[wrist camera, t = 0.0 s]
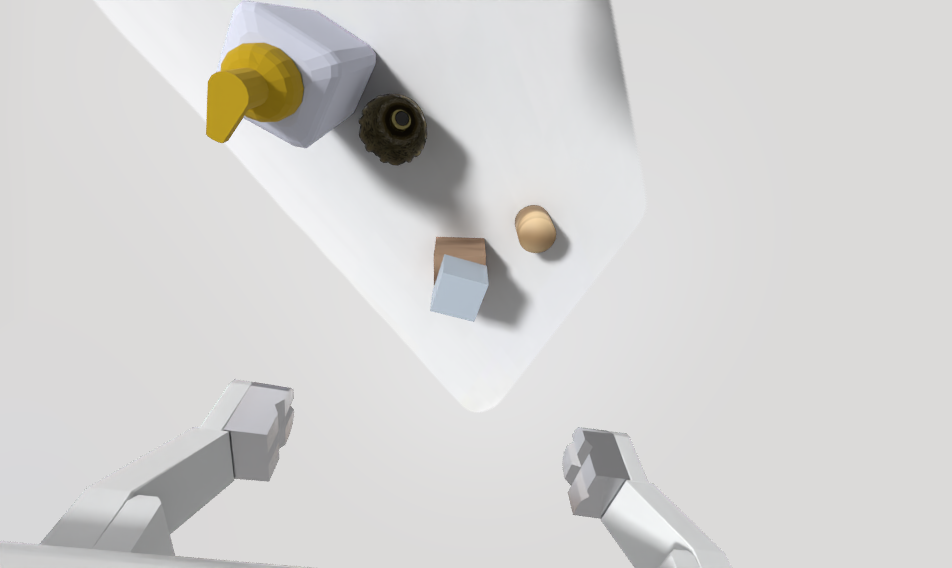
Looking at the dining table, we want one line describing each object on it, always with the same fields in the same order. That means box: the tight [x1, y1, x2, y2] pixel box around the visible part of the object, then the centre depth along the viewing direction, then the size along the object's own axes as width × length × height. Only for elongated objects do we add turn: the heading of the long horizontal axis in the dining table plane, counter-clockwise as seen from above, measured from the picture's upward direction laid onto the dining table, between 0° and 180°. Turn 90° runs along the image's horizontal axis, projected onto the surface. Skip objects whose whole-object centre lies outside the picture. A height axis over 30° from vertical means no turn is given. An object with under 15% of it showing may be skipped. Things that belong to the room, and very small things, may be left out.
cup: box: [359, 94, 427, 165], centre depth 50 cm, size 8×7×8 cm
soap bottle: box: [206, 0, 376, 148], centre depth 39 cm, size 9×9×25 cm
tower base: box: [434, 237, 486, 285], centre depth 61 cm, size 7×7×6 cm
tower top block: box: [430, 254, 489, 322], centre depth 56 cm, size 6×6×5 cm
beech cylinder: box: [515, 205, 556, 253], centre depth 58 cm, size 5×5×5 cm
